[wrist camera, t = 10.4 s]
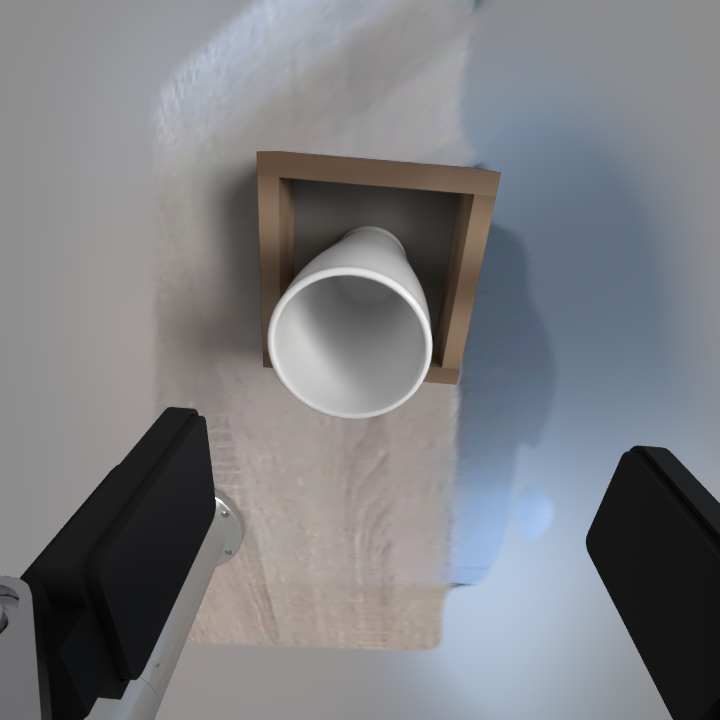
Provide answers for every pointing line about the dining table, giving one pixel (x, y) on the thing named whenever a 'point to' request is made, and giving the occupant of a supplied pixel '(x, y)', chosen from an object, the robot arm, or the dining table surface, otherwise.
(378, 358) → the drinking glass
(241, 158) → the dining table surface
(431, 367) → the caddy
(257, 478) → the dining table surface
